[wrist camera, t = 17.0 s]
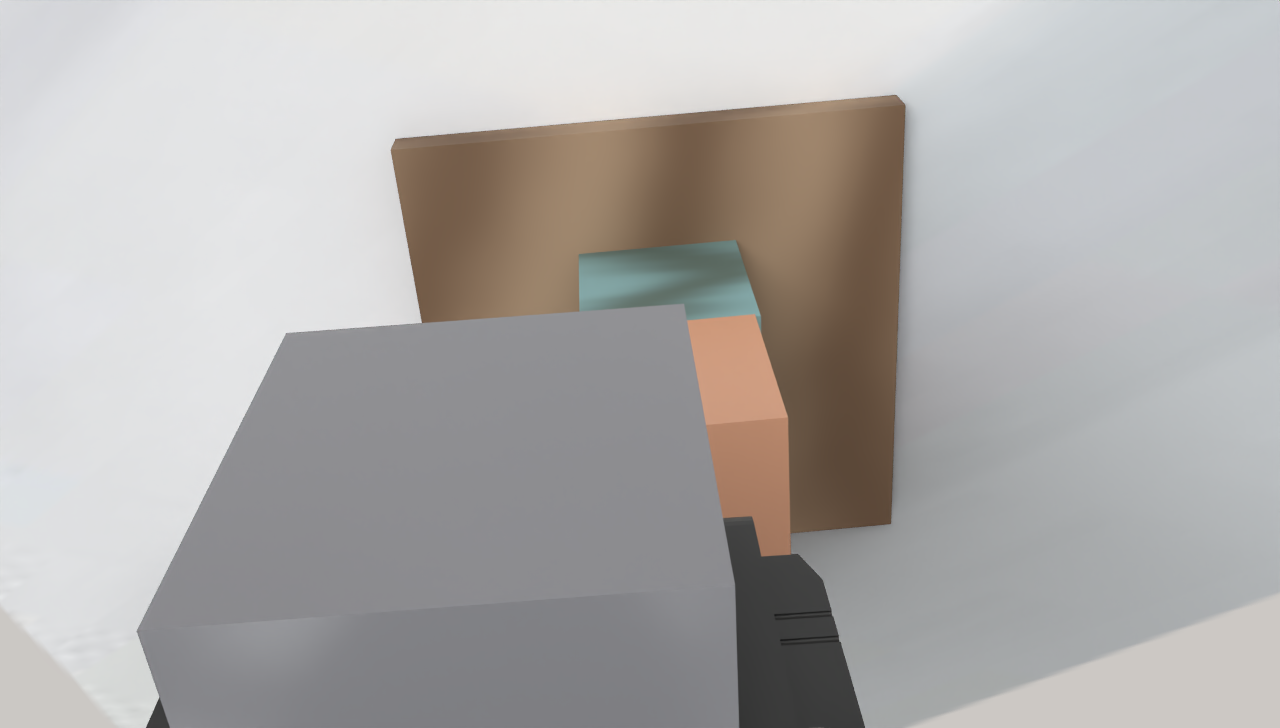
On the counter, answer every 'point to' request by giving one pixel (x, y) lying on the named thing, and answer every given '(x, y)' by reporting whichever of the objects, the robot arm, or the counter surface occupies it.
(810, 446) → the plate
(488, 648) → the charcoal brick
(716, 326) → the terracotta brick
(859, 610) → the counter surface
